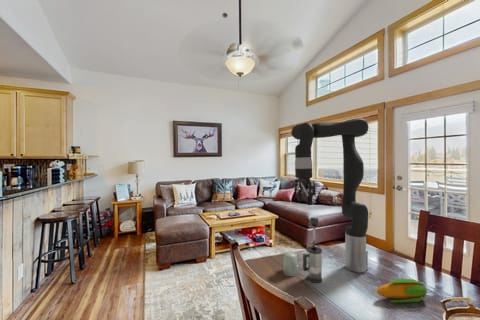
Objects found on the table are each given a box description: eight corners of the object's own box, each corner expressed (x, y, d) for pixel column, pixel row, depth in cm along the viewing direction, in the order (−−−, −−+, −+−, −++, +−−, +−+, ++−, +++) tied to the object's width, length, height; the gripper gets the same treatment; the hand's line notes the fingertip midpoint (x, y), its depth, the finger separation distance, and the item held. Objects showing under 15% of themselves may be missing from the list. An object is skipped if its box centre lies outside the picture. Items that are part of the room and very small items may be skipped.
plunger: (315, 246, 103) (315, 217, 103) (320, 249, 100) (319, 219, 100) (308, 247, 103) (308, 217, 102) (312, 250, 99) (312, 219, 99)
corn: (433, 283, 84) (384, 286, 82) (434, 304, 84) (385, 307, 82) (415, 274, 92) (370, 277, 90) (416, 293, 91) (371, 296, 89)
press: (316, 274, 105) (316, 245, 105) (325, 282, 99) (325, 251, 99) (300, 277, 103) (300, 247, 103) (307, 285, 97) (307, 253, 97)
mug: (291, 267, 112) (291, 249, 112) (299, 275, 105) (299, 256, 105) (279, 269, 111) (279, 251, 111) (287, 277, 103) (287, 258, 103)
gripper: (320, 167, 95) (321, 205, 95) (302, 166, 109) (304, 199, 109) (304, 168, 93) (305, 206, 93) (288, 167, 107) (290, 200, 107)
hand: (304, 202), depth 101 cm, fingers open, 8 cm apart
